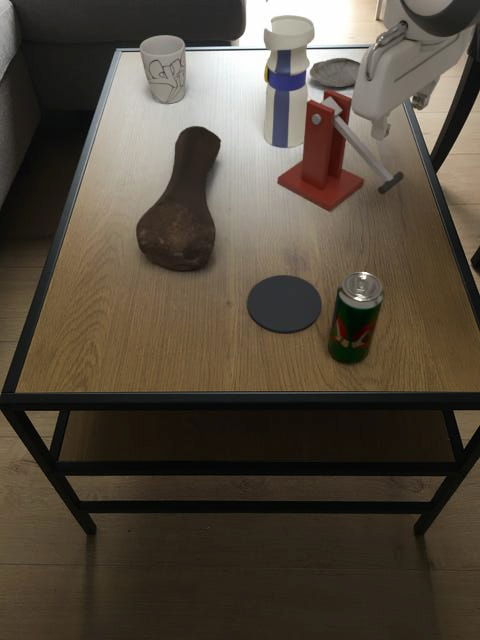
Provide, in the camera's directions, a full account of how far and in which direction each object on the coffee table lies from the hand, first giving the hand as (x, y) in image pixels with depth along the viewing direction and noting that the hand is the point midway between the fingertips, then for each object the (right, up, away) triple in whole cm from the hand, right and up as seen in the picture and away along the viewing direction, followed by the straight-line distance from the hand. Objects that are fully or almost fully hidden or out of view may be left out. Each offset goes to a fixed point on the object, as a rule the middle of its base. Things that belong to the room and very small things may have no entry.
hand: (399, 121), depth 71 cm
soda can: (-7, -30, -3) cm, 31 cm away
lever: (-4, -1, +9) cm, 10 cm away
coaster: (-15, -24, +2) cm, 28 cm away
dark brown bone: (-30, -9, +15) cm, 34 cm away
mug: (-35, +20, +39) cm, 56 cm away
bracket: (-8, -4, +18) cm, 20 cm away
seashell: (-1, +22, +39) cm, 45 cm away
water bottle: (-13, +7, +28) cm, 31 cm away
